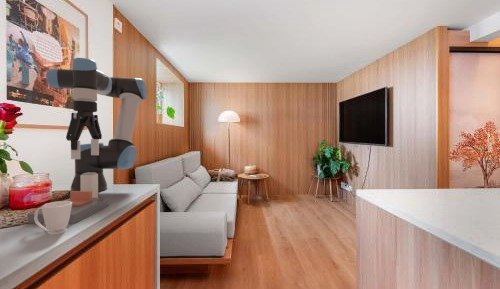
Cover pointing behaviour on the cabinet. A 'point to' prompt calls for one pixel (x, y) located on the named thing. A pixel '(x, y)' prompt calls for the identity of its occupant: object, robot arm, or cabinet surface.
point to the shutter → (80, 197)
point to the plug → (89, 183)
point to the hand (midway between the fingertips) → (86, 157)
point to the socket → (75, 211)
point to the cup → (55, 216)
